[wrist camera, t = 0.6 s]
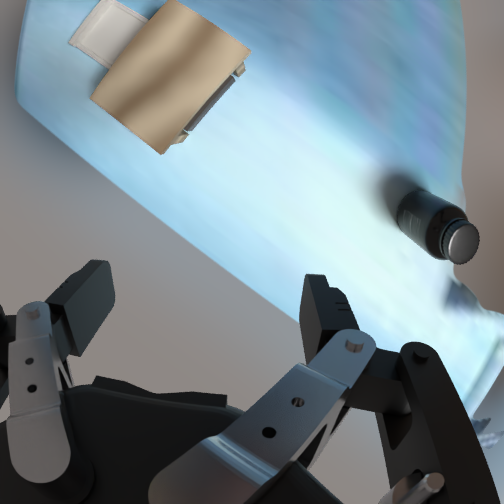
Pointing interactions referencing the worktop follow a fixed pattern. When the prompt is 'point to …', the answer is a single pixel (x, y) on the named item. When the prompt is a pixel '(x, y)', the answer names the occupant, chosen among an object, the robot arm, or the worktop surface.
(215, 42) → the small wooden table
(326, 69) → the worktop surface
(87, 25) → the white pull-out drawer
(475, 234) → the supplement bottle
